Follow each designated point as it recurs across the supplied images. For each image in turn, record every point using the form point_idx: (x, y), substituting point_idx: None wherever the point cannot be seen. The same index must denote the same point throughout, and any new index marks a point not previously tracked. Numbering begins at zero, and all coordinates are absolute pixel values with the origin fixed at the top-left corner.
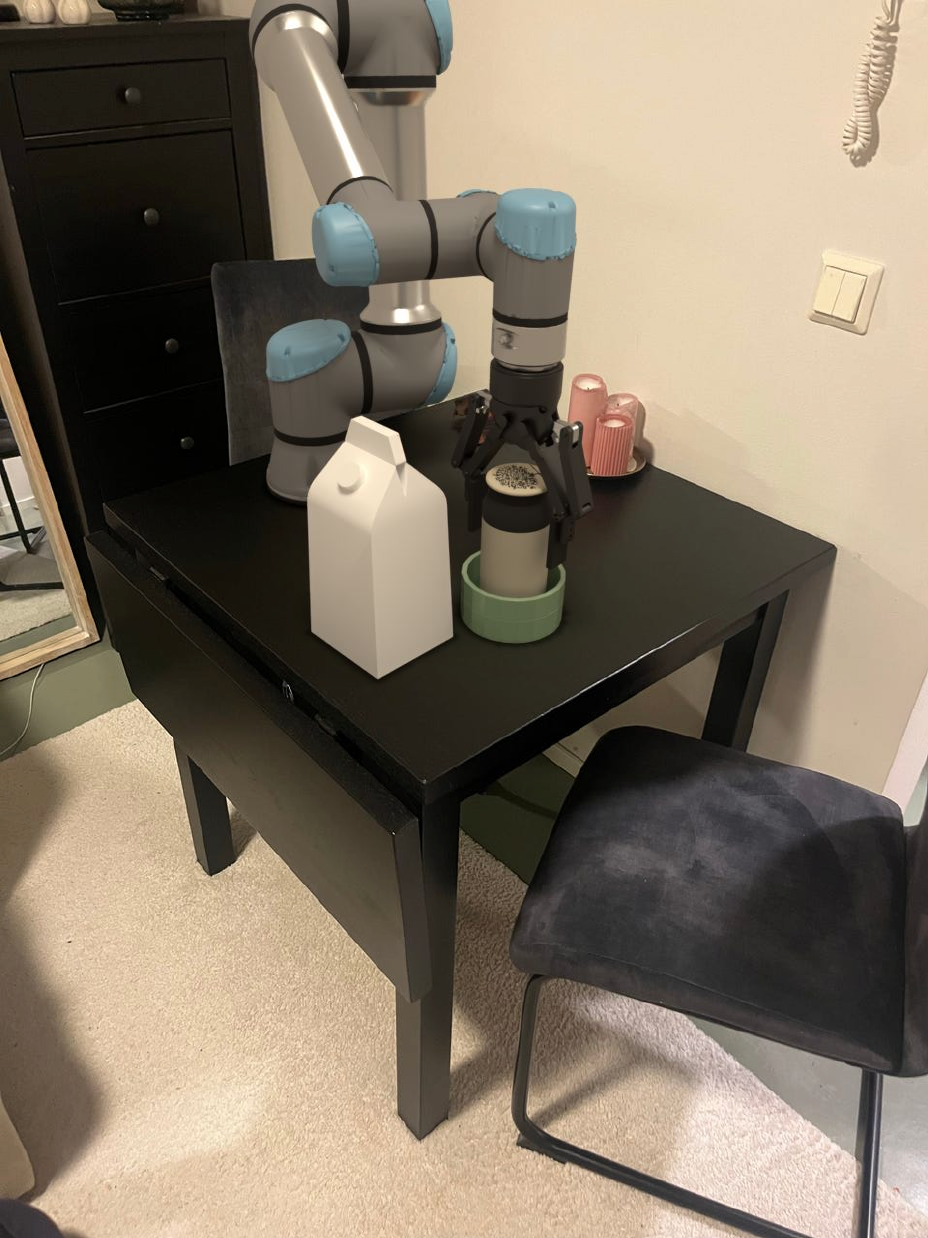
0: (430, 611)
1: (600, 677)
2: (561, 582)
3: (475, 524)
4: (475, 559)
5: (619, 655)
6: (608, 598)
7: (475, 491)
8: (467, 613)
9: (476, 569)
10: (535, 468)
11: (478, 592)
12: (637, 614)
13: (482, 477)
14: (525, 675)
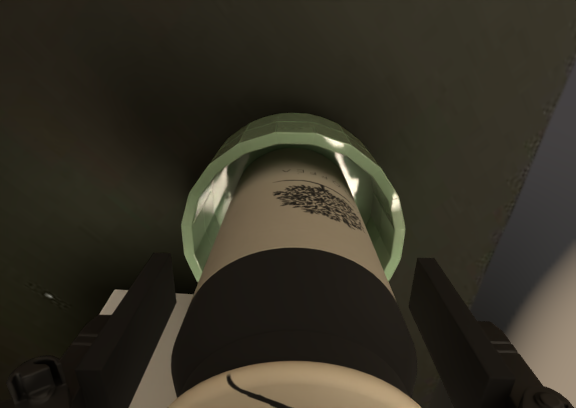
0: None
1: (498, 237)
2: (397, 210)
3: (169, 304)
4: (195, 245)
5: (504, 173)
6: (410, 27)
7: (131, 393)
8: None
9: (201, 230)
10: (293, 405)
11: None
12: (487, 37)
13: (99, 393)
14: (402, 297)
